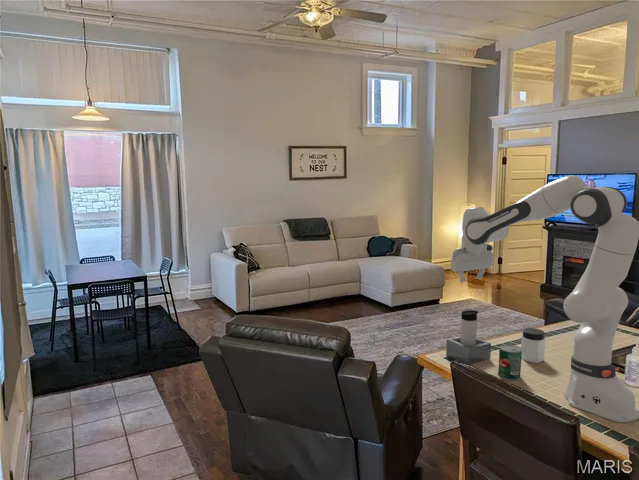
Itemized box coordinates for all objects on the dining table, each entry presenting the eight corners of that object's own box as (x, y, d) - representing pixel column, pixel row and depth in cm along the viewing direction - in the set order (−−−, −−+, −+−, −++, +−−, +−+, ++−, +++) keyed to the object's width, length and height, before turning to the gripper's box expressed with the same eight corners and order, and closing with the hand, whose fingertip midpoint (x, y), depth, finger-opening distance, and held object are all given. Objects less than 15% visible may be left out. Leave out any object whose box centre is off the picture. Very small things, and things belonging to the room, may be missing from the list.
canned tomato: (493, 375, 178) (495, 347, 177) (505, 369, 183) (506, 342, 182) (513, 382, 172) (514, 353, 171) (524, 376, 177) (526, 348, 175)
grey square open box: (490, 359, 193) (491, 343, 192) (468, 365, 188) (468, 348, 187) (467, 349, 204) (468, 334, 203) (446, 354, 199) (446, 339, 198)
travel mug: (477, 360, 192) (479, 313, 190) (460, 359, 194) (462, 312, 191) (475, 355, 198) (477, 309, 196) (459, 353, 200) (460, 308, 197)
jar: (517, 355, 198) (518, 327, 197) (536, 354, 198) (537, 327, 197) (527, 363, 189) (529, 334, 188) (547, 363, 190) (549, 334, 188)
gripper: (459, 250, 182) (457, 284, 184) (496, 246, 192) (494, 279, 193) (447, 247, 188) (446, 281, 189) (484, 244, 197) (482, 276, 199)
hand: (471, 280), depth 192 cm, fingers open, 8 cm apart
